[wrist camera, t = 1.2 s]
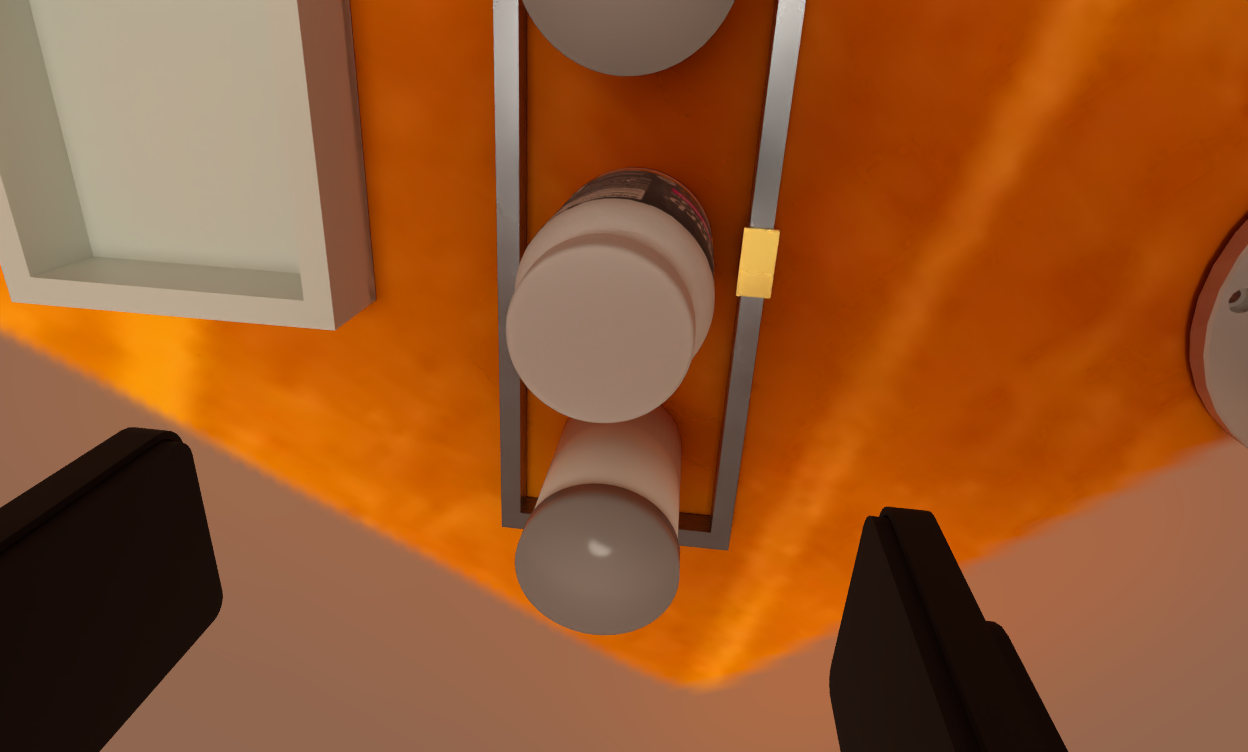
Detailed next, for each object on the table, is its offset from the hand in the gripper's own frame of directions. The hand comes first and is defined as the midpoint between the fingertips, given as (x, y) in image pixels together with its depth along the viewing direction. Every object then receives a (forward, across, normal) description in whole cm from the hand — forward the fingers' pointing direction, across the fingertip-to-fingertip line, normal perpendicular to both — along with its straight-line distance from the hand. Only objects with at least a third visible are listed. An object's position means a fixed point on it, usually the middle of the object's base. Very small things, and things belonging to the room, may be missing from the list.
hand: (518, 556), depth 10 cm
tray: (+18, +16, -3) cm, 24 cm away
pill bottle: (+18, 0, 0) cm, 18 cm away
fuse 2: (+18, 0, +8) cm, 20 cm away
